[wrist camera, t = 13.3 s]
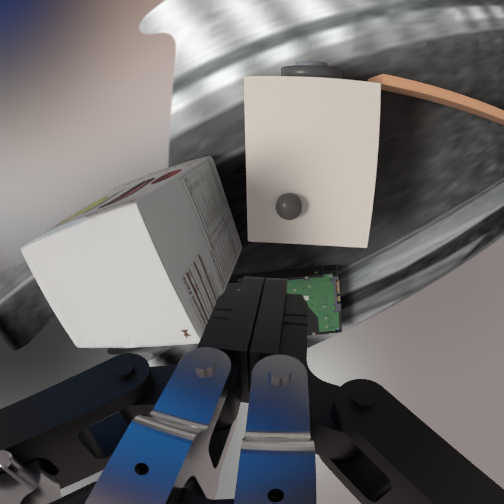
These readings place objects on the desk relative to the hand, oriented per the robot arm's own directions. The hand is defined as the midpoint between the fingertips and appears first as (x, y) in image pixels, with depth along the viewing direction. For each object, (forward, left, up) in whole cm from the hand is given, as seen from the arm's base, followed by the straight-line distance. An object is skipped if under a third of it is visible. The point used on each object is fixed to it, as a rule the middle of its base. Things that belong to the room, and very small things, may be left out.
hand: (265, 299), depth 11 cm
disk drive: (+20, 0, -28) cm, 34 cm away
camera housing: (-1, +2, -27) cm, 27 cm away
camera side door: (-9, +19, -27) cm, 34 cm away
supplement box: (+8, -16, -27) cm, 33 cm away
